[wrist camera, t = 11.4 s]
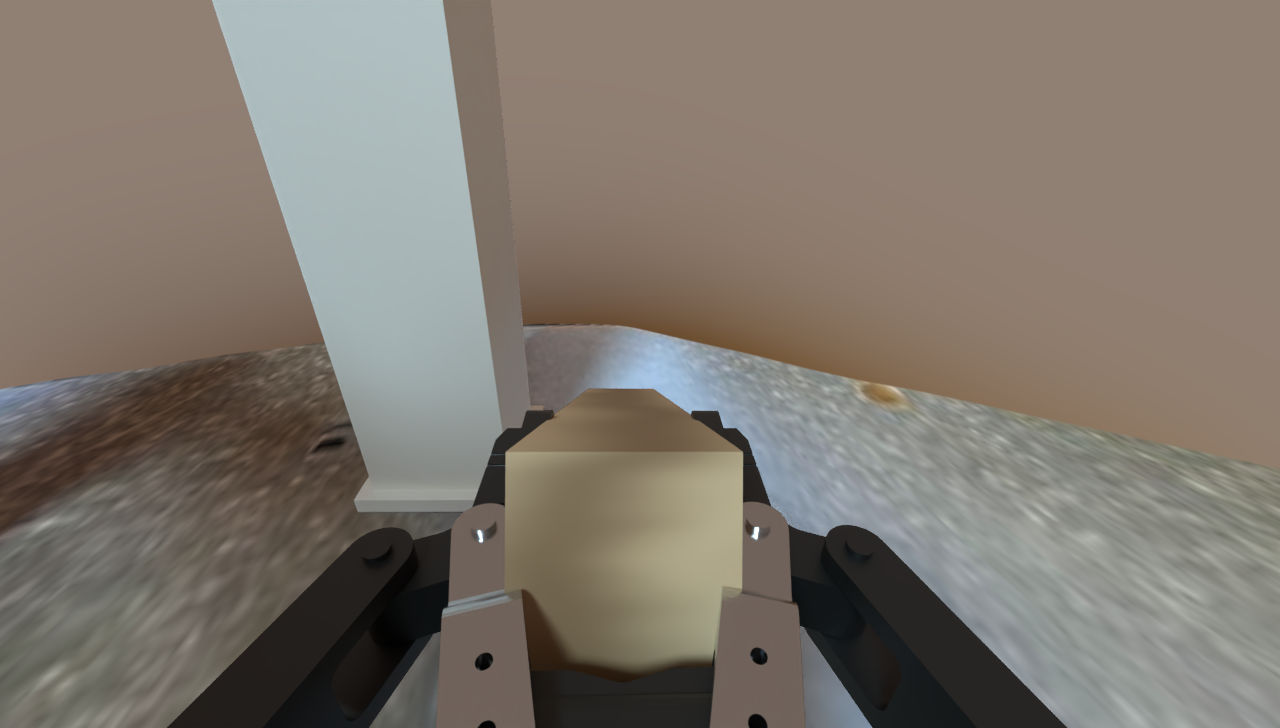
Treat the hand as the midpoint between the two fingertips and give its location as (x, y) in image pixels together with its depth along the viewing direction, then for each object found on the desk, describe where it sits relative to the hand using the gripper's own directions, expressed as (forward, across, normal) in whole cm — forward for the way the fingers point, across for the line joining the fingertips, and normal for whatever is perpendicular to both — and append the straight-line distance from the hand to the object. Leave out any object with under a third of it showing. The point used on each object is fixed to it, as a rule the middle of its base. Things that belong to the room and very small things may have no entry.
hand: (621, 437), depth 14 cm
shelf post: (+21, +13, +19) cm, 31 cm away
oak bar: (+3, 0, +6) cm, 6 cm away
